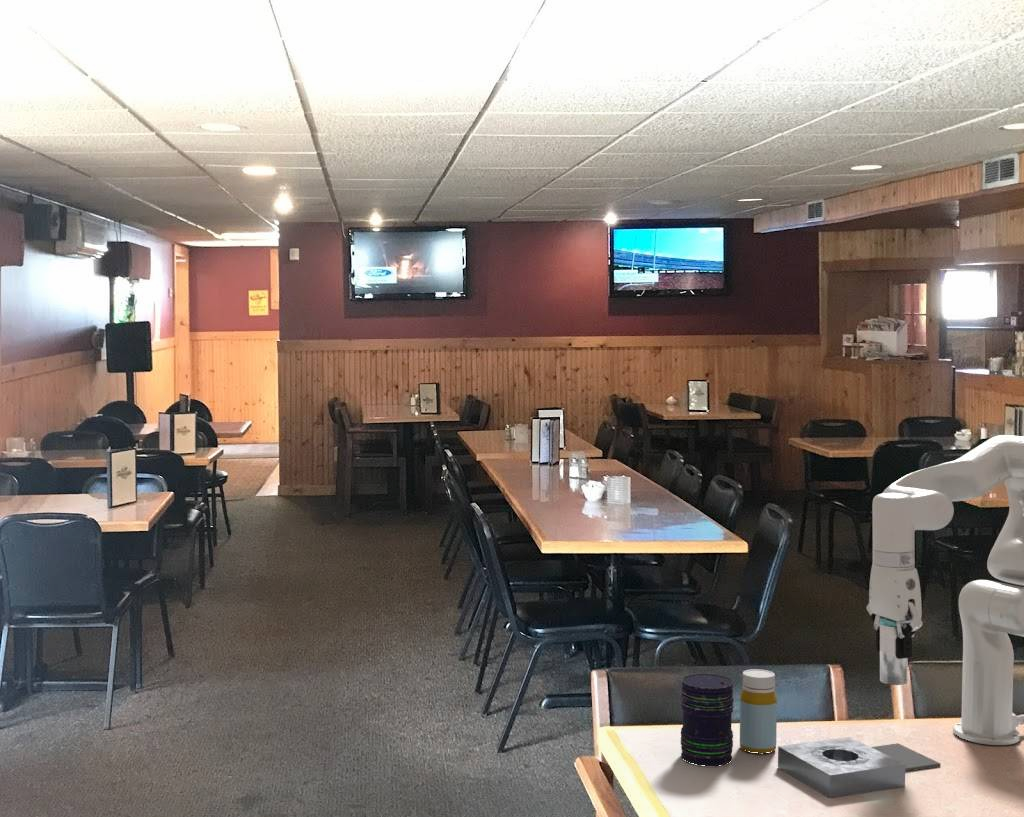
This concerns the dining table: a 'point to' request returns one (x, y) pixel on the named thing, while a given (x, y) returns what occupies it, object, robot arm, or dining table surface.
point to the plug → (891, 655)
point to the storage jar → (707, 719)
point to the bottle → (758, 711)
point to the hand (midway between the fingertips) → (893, 653)
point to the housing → (841, 766)
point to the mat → (907, 756)
